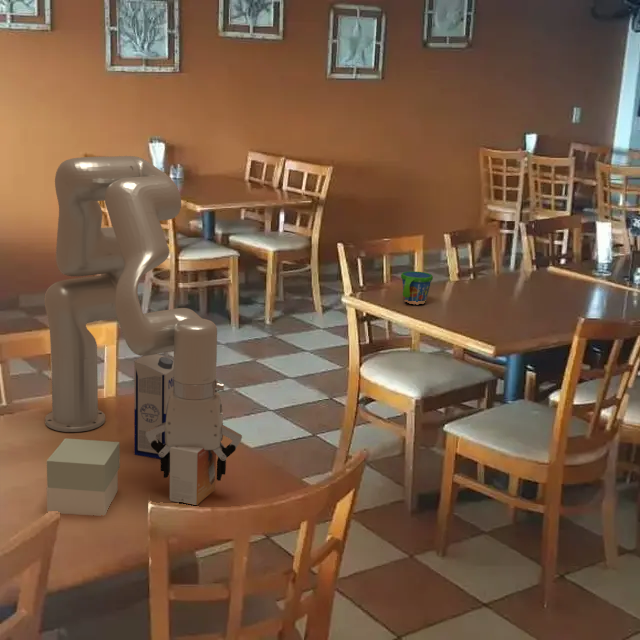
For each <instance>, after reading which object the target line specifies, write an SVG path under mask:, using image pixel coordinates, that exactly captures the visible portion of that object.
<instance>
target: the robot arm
mask: <svg viewBox="0 0 640 640" xmlns="http://www.w3.org/2000/svg"><path fill="white" fill-rule="evenodd" d="M54 177H55V178H54V187H55V194H56V198H57V199H56V200H57V203H58V219H57V220H58V221H57V233H56V235H57V236H56V247H55V248H56V249H55V250H56V251H55V262H56V266H57V269H58V271H60V273H61V274H62V275H64V276H68V277H76V278H67V279H63V280H62V279H61V280H59V281H56V282H54V283H53V284H51V285H50V286H49V287H48V288H47V289H46V291H45V294H44V299H43V300H44V308H45V313H46V316H47V317H46V318H47V321H48V328H49V339H50V363H51V364H50V366H51V368H50V369H51V370H50V371H51V401H52V403H51V406H52V409H51V410H52V411H50V412H49V413H47V414H46V416H45V417H44V424H45V426H46V427H48V428H49V429H52V430H55V431H57V432H62V433H63V432H65V433H81V432H86V431H87V432H88V431H91V430H95V429H97V428H99V427H101V426H103V424H104V423H105V422H106V415H105V412H103V411H102V410H100V409H99V403H98V402H99V401H98V399H99V398H98V397H99V395H98V394H99V392H98V391H99V389H98V387H99V386H98V384H99V382H98V381H99V380H98V344H97V341H96V338H95V336H94V335H93V334H92V333H91V332H90V330H89V329H88V328H87V324H89V323H94V322H100V321H106V320H110V319H111V320H112V319H115V318H117V320H118V324H119V327H120V330H121V334H122V336H123V338H124V340H125V343H126V345H127V346H128V348H129V350H130V351H131V352H132V353H134V354H135V355H138V356H140V357H142V356H148V355H154V354H159V355H160V354H163V353H170V352H173V361H174V384H173V391H171V392H170V396H169V401H168V406H167V414H166V422H165V423H162V424H160V425H158V426H155V427H153V428H151V429H148V430H147V432H146V434H145V435H146V437H147V439H148V441H149V442H150V444H151V447H152V448H153V449H154V450H155V451H156V452H157V453H158V454H159V456H160V457H161V459H160V472H163V478H164V479H165V478H166V479H167V478H168V477H169V476H170V453H169V451H170V448H171V447H172V446H176V447H200V448H204V450H213V451H214V452H215V453H216V457H217V459H216V481H222V480H221V479H222V476H225V475H226V470H227V458H228V457H230V456H231V455H232V454H233V453H234V452H235V451H236V450H237V448H238V446H239V444H240V443H241V441H242V438H243V435H242V434H240V433H239V432H237V431H235V430H233V429H232V428H231V427H228V426H226V425H225V424H224V419H223V418H224V416H223V414H224V413H223V406H222V405H223V402H222V397H221V394H220V393H219V392H220V391H224V390H225V383H224V382H220V381H218V380H217V379H218V377H217V363H218V362H217V360H218V359H217V357H218V356H217V353H218V327H217V325H216V324H215V323H214V322H213V321H212V320H209V319H206V318H202V317H201V316H200V315H199V314H198V313H196V312H195V311H194V310H192V309H190V308H187V307H178V308H171V309H163V310H157V311H151V312H146V313H145V312H144V313H143V310H142V309H143V308H142V307H141V304H140V299H139V293H138V291H139V285H140V284H139V283H140V281H141V279H142V277H143V276H144V275H145V274H147V273H149V272H151V271H152V270H154V269H155V268H157V267H158V266H161V265H162V264H163V263H164V262H166V260H167V259H168V258H169V255H170V248H169V245H168V243H167V239H166V236H165V233H164V231H163V227H162V224H161V221H168V220H173V219H175V218H176V217H177V216H178V215H179V214H180V211H181V208H182V196H181V193H180V191H179V190H180V189H179V188H178V186H177V185H176V183H175V182H174V180H173V179H172V178H171V177H170V176H169V175H168V174H166V173H165V172H163V170H161V169H160V168H158V167H156V166H155V165H153V164H152V163H151V162H149V161H147V160H146V159H144V158H143V157H139V156H131V155H128V156H127V155H123V156H122V155H121V156H120V155H119V156H84V157H75V158H74V157H73V158H68V159H66V160H64V161H62V162H61V163H60V164H59V166H58V168H57V169H56V173H55V176H54ZM103 201H104V204H105V207H106V211H107V213H108V216H109V219H110V222H111V226H108V227H107V226H106V227H102V225H103V210H102V206H101V205H100V203H99V202H103ZM164 431H165V444H164V445H163V444H162V443H161V442H160V441H159V440H158V439H157V438H156V435H157V434H160V433H162V432H164ZM224 436H225V437H226V438H228V439H230V440H231V442H230V443H229V444H228V445H227V446H225V445H224V444H223V443H222V441H223V437H224Z"/></svg>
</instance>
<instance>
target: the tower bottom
mask: <svg viewBox="0 0 640 640" xmlns="http://www.w3.org/2000/svg"><path fill="white" fill-rule="evenodd" d="M118 471H119V470H118ZM118 471H117V473H116V474H115V476H114V478H113V479H112V481H111V482H110V484H109V486H108V487H107V489H106V490H105V492H101V491H87V490H73V489H60V488H47V487H46V513H47V512H48V511H58V512H60V513H61V515H62V514H63V515H77V516H79V515H81V516H93V515H94V516H97V517H105V516H106V514H107V512H108V511H107V510H109V509H108V508H110V507H111V505H112V503H111V502H113V501H114V499H115V497H116V495H117V493H118V490H119V489H118V488H119V486H118V485H119V483H118V474H119V473H118ZM110 504H111V505H110ZM109 506H110V507H109ZM101 515H103V516H101ZM104 515H105V516H104Z"/></svg>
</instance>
